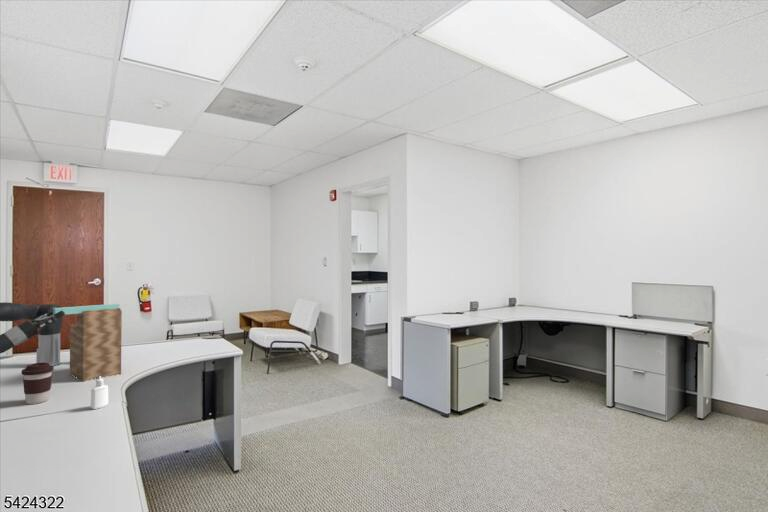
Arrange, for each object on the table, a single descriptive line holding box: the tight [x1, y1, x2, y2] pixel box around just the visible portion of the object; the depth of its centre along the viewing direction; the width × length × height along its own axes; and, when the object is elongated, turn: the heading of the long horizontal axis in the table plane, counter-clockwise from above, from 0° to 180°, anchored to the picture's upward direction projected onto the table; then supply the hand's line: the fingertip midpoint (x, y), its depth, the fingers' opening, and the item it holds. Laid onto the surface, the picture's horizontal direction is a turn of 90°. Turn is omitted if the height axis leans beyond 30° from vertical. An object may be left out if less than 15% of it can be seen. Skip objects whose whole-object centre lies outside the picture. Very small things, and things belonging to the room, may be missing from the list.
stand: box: [69, 307, 123, 382], centre depth 205 cm, size 16×20×33 cm
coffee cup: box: [21, 363, 55, 405], centre depth 165 cm, size 10×10×15 cm
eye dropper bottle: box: [90, 376, 109, 410], centre depth 159 cm, size 4×6×12 cm
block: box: [53, 303, 120, 316], centre depth 198 cm, size 26×4×3 cm, turn 141°
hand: (60, 311), depth 190 cm, fingers open, 8 cm apart
